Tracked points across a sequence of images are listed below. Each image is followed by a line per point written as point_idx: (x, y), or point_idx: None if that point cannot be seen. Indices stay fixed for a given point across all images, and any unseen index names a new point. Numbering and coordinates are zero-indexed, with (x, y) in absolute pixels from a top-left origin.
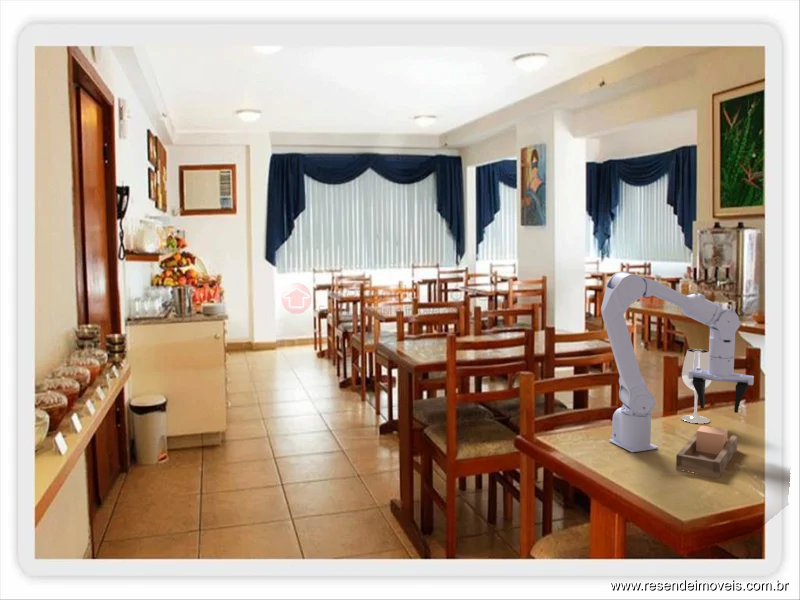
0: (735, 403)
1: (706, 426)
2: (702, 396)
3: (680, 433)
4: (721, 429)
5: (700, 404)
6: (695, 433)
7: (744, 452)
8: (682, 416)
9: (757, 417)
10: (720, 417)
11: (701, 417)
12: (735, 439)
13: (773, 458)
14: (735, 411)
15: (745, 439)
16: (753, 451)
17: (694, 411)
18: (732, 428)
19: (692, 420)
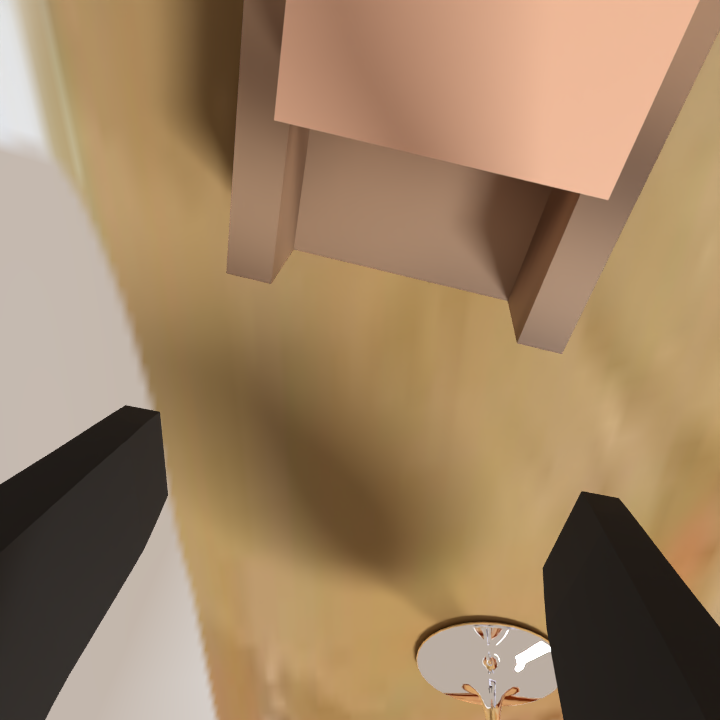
0: (54, 498)
1: (542, 175)
2: (690, 684)
3: (628, 468)
4: (352, 92)
5: (650, 542)
6: (621, 230)
7: (209, 186)
8: (553, 689)
9: (217, 705)
10: (364, 696)
11: (458, 677)
12: (234, 166)
13: (4, 111)
14: (134, 414)
15: (232, 449)
16: (156, 234)
17: (499, 713)
18: (309, 588)
19: (510, 646)
